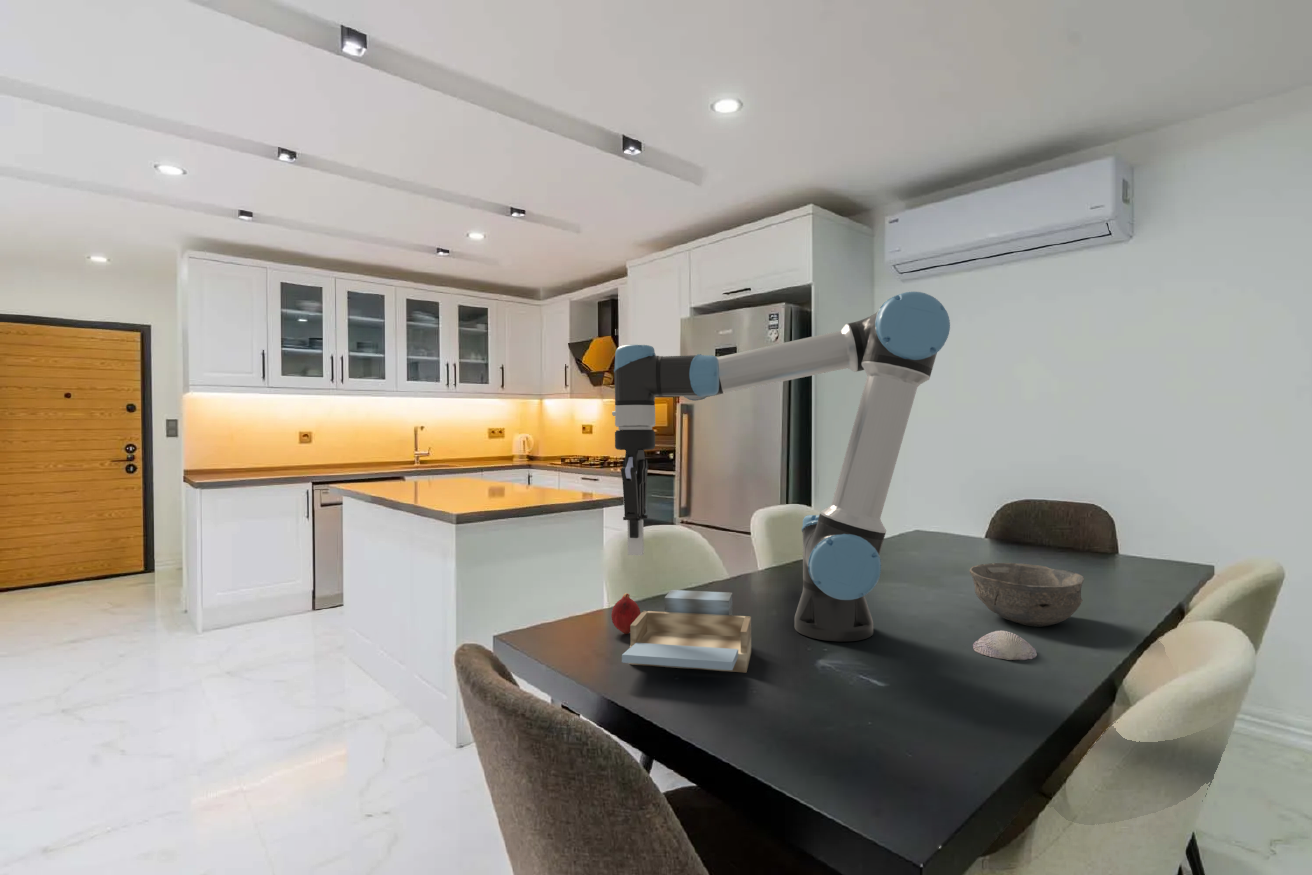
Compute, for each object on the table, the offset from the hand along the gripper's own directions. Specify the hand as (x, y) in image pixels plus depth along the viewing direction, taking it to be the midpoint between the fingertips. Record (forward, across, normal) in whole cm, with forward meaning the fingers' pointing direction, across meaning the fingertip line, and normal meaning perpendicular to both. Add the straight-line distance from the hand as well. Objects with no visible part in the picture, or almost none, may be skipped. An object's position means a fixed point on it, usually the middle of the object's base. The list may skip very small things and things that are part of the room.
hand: (635, 554), depth 122 cm
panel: (+14, +11, +11) cm, 21 cm away
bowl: (+17, -27, +77) cm, 83 cm away
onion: (+17, -6, -3) cm, 18 cm away
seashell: (+17, -6, +66) cm, 68 cm away
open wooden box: (+17, +2, +11) cm, 21 cm away
